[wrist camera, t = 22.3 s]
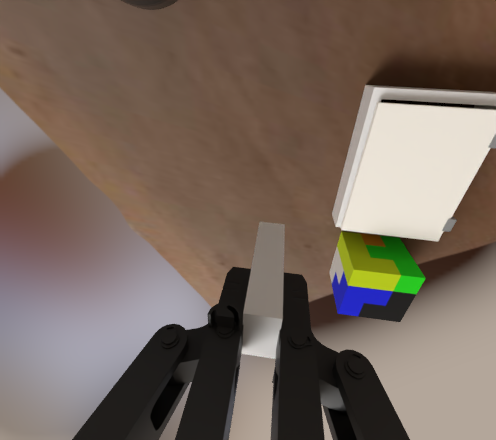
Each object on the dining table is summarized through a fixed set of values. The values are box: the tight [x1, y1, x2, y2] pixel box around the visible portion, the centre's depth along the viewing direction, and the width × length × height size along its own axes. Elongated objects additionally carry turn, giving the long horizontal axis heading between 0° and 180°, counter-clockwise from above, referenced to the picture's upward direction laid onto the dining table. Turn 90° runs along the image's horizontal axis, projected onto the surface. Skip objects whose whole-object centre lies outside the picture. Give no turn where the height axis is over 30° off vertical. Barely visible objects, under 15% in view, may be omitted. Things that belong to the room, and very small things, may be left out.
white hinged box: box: [332, 85, 496, 227], centre depth 36 cm, size 20×15×4 cm
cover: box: [341, 102, 496, 241], centre depth 33 cm, size 18×15×1 cm
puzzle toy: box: [330, 231, 425, 322], centre depth 43 cm, size 10×10×10 cm
